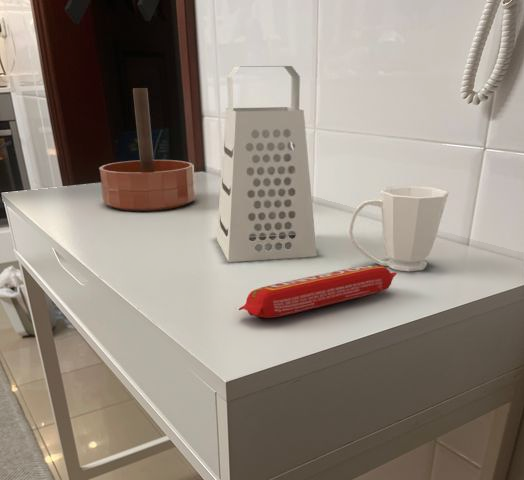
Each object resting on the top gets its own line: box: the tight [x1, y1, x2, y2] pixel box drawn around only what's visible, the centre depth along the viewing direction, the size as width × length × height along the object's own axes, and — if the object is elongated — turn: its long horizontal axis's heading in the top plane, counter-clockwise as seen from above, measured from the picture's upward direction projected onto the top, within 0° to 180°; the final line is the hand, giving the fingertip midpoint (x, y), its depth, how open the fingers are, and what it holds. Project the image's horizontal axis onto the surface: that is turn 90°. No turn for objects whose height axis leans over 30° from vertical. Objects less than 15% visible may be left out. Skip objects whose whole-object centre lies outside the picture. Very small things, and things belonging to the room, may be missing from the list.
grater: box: [216, 65, 318, 263], centre depth 65 cm, size 10×10×20 cm
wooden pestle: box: [132, 87, 155, 172], centre depth 91 cm, size 4×4×17 cm
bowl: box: [98, 159, 196, 212], centre depth 93 cm, size 15×15×6 cm
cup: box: [348, 185, 449, 272], centre depth 60 cm, size 7×10×8 cm
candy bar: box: [238, 265, 398, 319], centre depth 51 cm, size 16×4×3 cm, turn 121°
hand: (106, 15), depth 85 cm, fingers open, 13 cm apart
